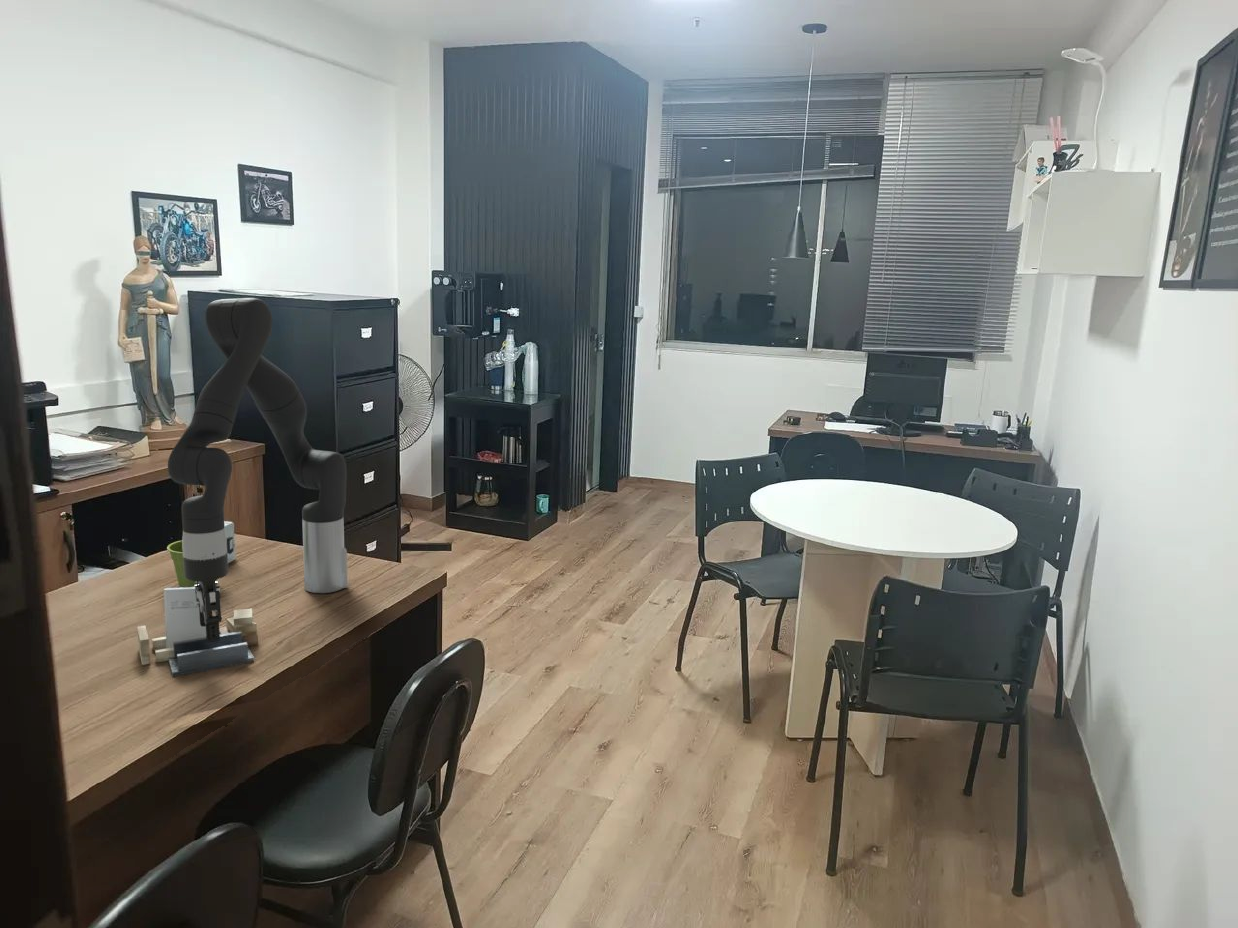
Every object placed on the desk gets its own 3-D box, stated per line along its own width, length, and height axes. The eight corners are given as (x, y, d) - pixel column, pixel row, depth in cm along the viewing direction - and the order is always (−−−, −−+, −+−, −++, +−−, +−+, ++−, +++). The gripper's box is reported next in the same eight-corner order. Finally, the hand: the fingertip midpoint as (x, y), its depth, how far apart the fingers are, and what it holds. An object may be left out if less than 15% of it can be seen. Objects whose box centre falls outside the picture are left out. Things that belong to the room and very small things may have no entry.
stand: (247, 647, 171) (246, 629, 170) (253, 661, 165) (253, 643, 164) (168, 661, 163) (167, 643, 162) (172, 676, 157) (171, 657, 157)
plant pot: (204, 602, 193) (202, 554, 191) (158, 597, 195) (154, 549, 193) (236, 585, 205) (234, 540, 202) (192, 580, 207) (189, 535, 204)
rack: (226, 635, 176) (225, 612, 175) (232, 648, 170) (231, 625, 169) (138, 650, 167) (137, 626, 166) (142, 664, 161) (140, 640, 160)
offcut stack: (251, 631, 179) (250, 605, 177) (258, 643, 173) (257, 617, 172) (226, 635, 176) (225, 609, 175) (232, 648, 170) (231, 621, 169)
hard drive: (168, 648, 169) (165, 587, 167) (212, 646, 171) (210, 585, 169) (165, 651, 167) (163, 589, 166) (211, 648, 169) (209, 587, 168)
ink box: (193, 569, 215) (191, 523, 212) (206, 563, 219) (203, 518, 217) (225, 572, 213) (222, 526, 211) (236, 566, 218) (234, 521, 216)
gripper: (233, 559, 156) (237, 642, 159) (220, 539, 167) (225, 617, 171) (187, 565, 152) (193, 650, 155) (178, 544, 163) (183, 623, 167)
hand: (209, 632), depth 163 cm, fingers open, 8 cm apart
